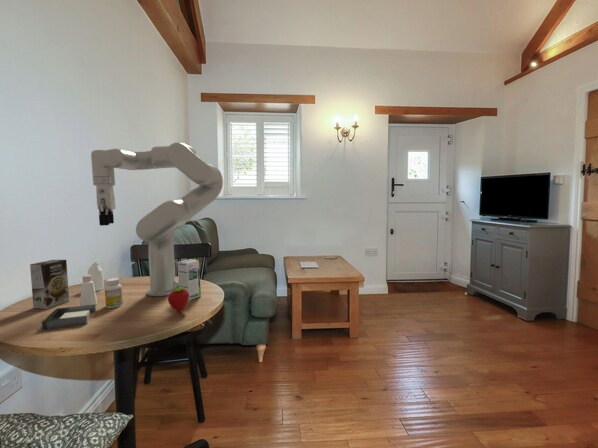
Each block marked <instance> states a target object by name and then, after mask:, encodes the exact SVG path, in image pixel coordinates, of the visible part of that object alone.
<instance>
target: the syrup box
mask: <svg viewBox="0 0 598 448" xmlns="http://www.w3.org/2000/svg"><path fill="white" fill-rule="evenodd" d="M177 277H178V281H179V288H184V289H185V290H186V291H187V292H188V293H189V299H188V301H192V300H194V299H197V298H200V297H201V296H202V293H201V291H202V290H201V274H200V261H199V260H198V259H194V258H193V259H192V258H191V259H190V258H189V259H185V260H182V261H177Z"/></svg>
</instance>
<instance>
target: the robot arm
mask: <svg viewBox="0 0 598 448" xmlns="http://www.w3.org/2000/svg"><path fill="white" fill-rule="evenodd" d="M90 159H91V170H92V183H93V184H92V185H93V186H96V187H95V189H96V205H97V209H98V219H99V221H98V222H99V226H101V227H102V226H109V225H110V224H114V221H115V219H114V210H115V209H116V198H115V190H114V187H115V186H116V178H115V169H121V170H127V171H140V170H141V171H143V170H153V169H155V170H157V169H170V168H172V169H173V168H176V169H178V170H179V171H180V173H182V174H183V175H184V176H185V177H187V178H188V179H190V181H191V182H193V183H194V184H196V185H197V186H196V187H195V188H193V189H192V190H190V191H189V192H187V193H186V194H185V195H183V196H181V198H178V199H172V200H171V199H169V200H166V201H164V202H162V203H161V204H159V205H158V206H156V208H154V209H153V210H151V211H150V212H149V213H147V214H146V215H144V216H143V217H142V218H141V219H140V220H139V221H137V224H136V226H135V234H136V236H137V237H138V238H139V239H140V240H142V241H143V242H147V243H148V249H147V250H148V251H147V252H148V268H149V283H150V285H149V286H150V287H149V288H148V289H147V290H146V295H147V296H149V297H165V296H169V294H170V293H172V292H170V291H173V290H175V289H173V288H179V280H177V278H176V268H175V248H174V247H175V245H174V244H175V243H174V242H175V230H176V228H175V227H176V226H177V225H182V224H185V223H187V222H188V221H189V220H191V219H192V218H193V217H195V216H196V215H197V214H198V213H200V212H201V211H202V210H204V209H205V208H206V207H207V206H209V205H210V204H211V203H213V202H214V201H215V200H217V198H218V197H219V195H220V194H221V191H222V189H223V185H224V184H223V183H224V180H223V174H222V172H221V170H220V169H219V168H218V167H216V166H215V165H212V164H211V163H210V164H209V163H207V162H206V161H204V160H203V159H202V158H200V157H199V156H198V154H197V151H196V150H195V149H194V147H192V146H190V145H188V144H185V143H183V142H173V143H171V144H170V145H163V146H162V145H161V146H160V145H159V146H153V147H151V150H147V151H129V150H125V149H121V148H111V149H106V150H105V149H104V150H103V149H94V150H92V151H91V153H90ZM173 292H174V291H173Z"/></svg>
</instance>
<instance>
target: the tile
mask: <svg viewBox="0 0 598 448" xmlns="http://www.w3.org/2000/svg"><path fill="white" fill-rule="evenodd" d="M85 315H87V319H88V318H89V317H90V315H91V313H90V310H87V311H78V312H70V313H64V314H63V316H62V317H59V319H61V318H69V317H77V316H85Z"/></svg>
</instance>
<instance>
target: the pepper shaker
mask: <svg viewBox="0 0 598 448" xmlns="http://www.w3.org/2000/svg"><path fill="white" fill-rule="evenodd" d="M80 287H81V288H80V305H79V306H84V305H92V304H95V305H96V306H97V305H98V298H97V293H96V291H95V288H94V283H93V281H91V275H88V274H85V275H82V282H81V284H80Z"/></svg>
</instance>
